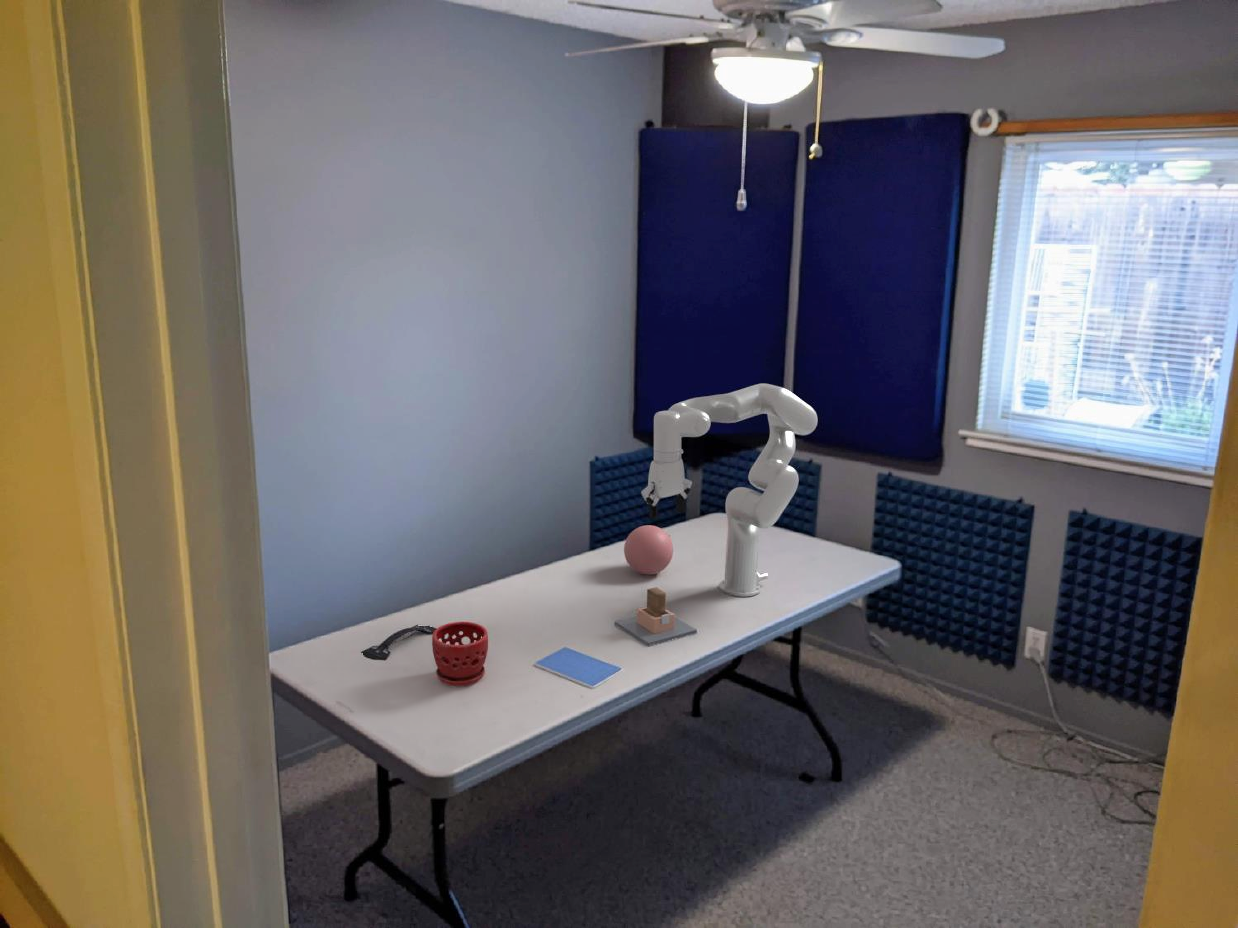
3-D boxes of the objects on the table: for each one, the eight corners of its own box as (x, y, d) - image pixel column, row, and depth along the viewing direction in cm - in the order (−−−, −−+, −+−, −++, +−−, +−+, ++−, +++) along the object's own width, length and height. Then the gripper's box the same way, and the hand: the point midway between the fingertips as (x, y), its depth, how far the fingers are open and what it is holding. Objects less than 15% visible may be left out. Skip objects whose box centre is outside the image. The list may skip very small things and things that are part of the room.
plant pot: (422, 677, 228) (421, 631, 225) (467, 660, 237) (466, 616, 234) (454, 697, 219) (453, 649, 216) (499, 679, 228) (499, 633, 225)
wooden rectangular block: (655, 621, 260) (656, 587, 258) (664, 627, 257) (665, 592, 254) (646, 623, 259) (647, 589, 256) (655, 629, 255) (656, 594, 253)
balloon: (689, 568, 304) (691, 522, 300) (653, 585, 288) (655, 537, 284) (650, 557, 313) (652, 512, 309) (613, 573, 297) (614, 527, 293)
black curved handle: (353, 657, 238) (352, 645, 237) (422, 624, 259) (422, 612, 258) (379, 667, 234) (378, 654, 233) (447, 632, 254) (447, 620, 254)
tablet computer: (625, 672, 234) (625, 667, 233) (593, 691, 224) (593, 686, 224) (565, 650, 245) (565, 645, 245) (532, 667, 235) (532, 662, 235)
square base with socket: (661, 612, 269) (662, 593, 267) (696, 633, 256) (697, 613, 254) (614, 624, 260) (615, 605, 258) (648, 646, 247) (649, 626, 246)
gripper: (682, 448, 269) (682, 505, 274) (634, 458, 259) (634, 517, 264) (700, 453, 263) (699, 512, 268) (651, 464, 253) (650, 524, 258)
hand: (666, 514), depth 266 cm, fingers open, 9 cm apart
